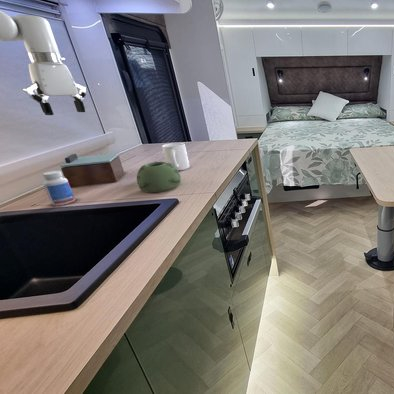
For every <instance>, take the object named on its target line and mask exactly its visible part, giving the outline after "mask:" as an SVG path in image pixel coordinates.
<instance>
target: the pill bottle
mask: <svg viewBox="0 0 394 394" xmlns="http://www.w3.org/2000/svg"><path fill="white" fill-rule="evenodd" d="M42 177H43V179H44V181H43V183H42V184H43V187H44V189H45V191H46V193H47V196H48V199H49V201H50V203H51V205H52V206H65V205H69V204H71V203H73V202H75V201H76V197H75V195H74V193H73V190H72V187H71V188H70V185H69V183H68V180H67V179H66V178H65V177H64V176H63V172H62V170H52V171H47V172H44V173H42Z"/></svg>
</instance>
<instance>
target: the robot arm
mask: <svg viewBox="0 0 394 394" xmlns="http://www.w3.org/2000/svg"><path fill="white" fill-rule="evenodd" d="M0 41H1V42H21V41H22V42H23V44H24V47H25V50H26V53H27V55H28V57H29V60H30V62H31V63H28V71H29V76H30V80H31V84H30V85H28V86H26V87H24V88H23V92H24V93H25V94H26V95H28V97H30V99H32V100H33V101H35V102H36V103H38V104H39V106H40V108H41V110H42V113H44V115H45V116H54V115H55V114H54V111H53V109H52V105H51V104H50V102H48V101H49V98H50V97H66V96H68V97H69V96H70V97H71V98H72V99H73V104H74V106H75V109H76V112H77V113H86V110H85V109H86V107H85V105H84V102H83V101H84V98H85V97H86V96H87V94H86V93H87V87H86V86H83V85H82V84H78V83H76V82H75V79H74V77H73V75H72V73H71V71H70V69H69V68H68V66H67V65H66V64H64V62H66V57H65V56H62V55H61V53H60V51H59V47H58V44H57V42H56V39H55V36H54V33H53V30H52V28H51V25H50V22H49V21H48V20H47V19H46V18H45V17H42V16H40V15H39V16H38V15H32V14H18V15H15V16H12V15H9V14H7V13H6V12H5V11H2V10H0ZM78 90H79V91H78Z"/></svg>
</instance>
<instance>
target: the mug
mask: <svg viewBox="0 0 394 394" xmlns="http://www.w3.org/2000/svg"><path fill="white" fill-rule="evenodd" d="M161 148H162V153H163V156H164V161H165V162H169V163H170V164H172V165H173V166H174V167H175V168H176V169H177V170H178V172H181V171H184V170H188V169H189V168H190V166H191V165H190V161H189V156H188V151H187V148H186V144H185V142H169V143H165V144H162V145H161Z"/></svg>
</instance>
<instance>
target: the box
mask: <svg viewBox="0 0 394 394" xmlns="http://www.w3.org/2000/svg"><path fill="white" fill-rule="evenodd" d="M60 171H61V173H62V176H63V178H66V179H67V180H68V183H69V185H70V188H71V189H72V188H78V187H79V188H80V187H86V186H87V187H88V186H95V185H104V184H112V183H117V182H118V181H119V180H120V179H121V178H122V176H123V175H124V174H125V170H124V167H123V164H122V161H121V158H120V156H119V155H118V156H117V157H115V158H114V159H113V160H112V161H111V162H108V163H98V164H88V165H78V166H68V167H60Z"/></svg>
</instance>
